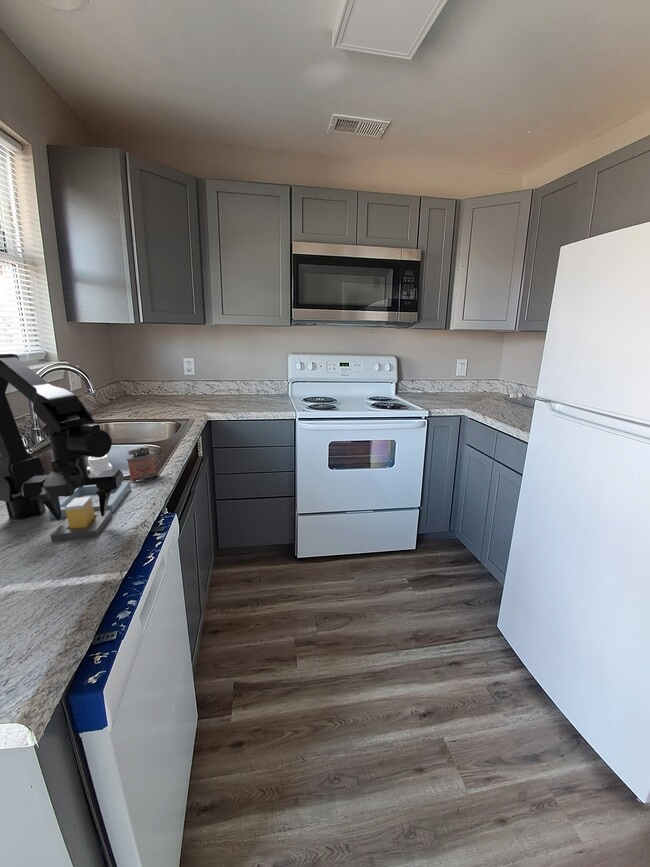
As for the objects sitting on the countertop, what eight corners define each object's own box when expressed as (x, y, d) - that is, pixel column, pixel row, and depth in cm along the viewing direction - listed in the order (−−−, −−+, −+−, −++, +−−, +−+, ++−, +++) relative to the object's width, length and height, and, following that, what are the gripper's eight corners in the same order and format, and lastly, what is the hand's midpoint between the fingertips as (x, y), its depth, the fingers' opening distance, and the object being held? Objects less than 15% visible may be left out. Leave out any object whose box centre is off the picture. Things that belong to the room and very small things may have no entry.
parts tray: (51, 522, 96) (48, 510, 96) (78, 495, 112) (76, 485, 111) (113, 516, 99) (111, 505, 98) (131, 491, 114) (129, 481, 113)
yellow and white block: (70, 534, 88) (65, 507, 87) (79, 523, 93) (74, 497, 92) (87, 532, 89) (82, 505, 87) (96, 522, 94) (91, 496, 92)
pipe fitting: (110, 484, 119) (105, 459, 117) (84, 486, 118) (80, 460, 116) (118, 477, 125) (114, 452, 123) (94, 478, 124) (90, 454, 122)
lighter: (153, 473, 128) (149, 443, 125) (158, 475, 126) (154, 445, 123) (128, 481, 122) (123, 449, 119) (133, 483, 120) (128, 451, 117)
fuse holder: (52, 545, 86) (50, 534, 85) (72, 523, 95) (70, 514, 95) (97, 540, 87) (95, 530, 87) (112, 519, 97) (111, 510, 96)
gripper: (-2, 468, 77) (16, 540, 81) (102, 460, 80) (114, 530, 84) (28, 451, 88) (43, 515, 92) (119, 445, 91) (129, 507, 95)
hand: (81, 517), depth 90 cm, fingers open, 9 cm apart
